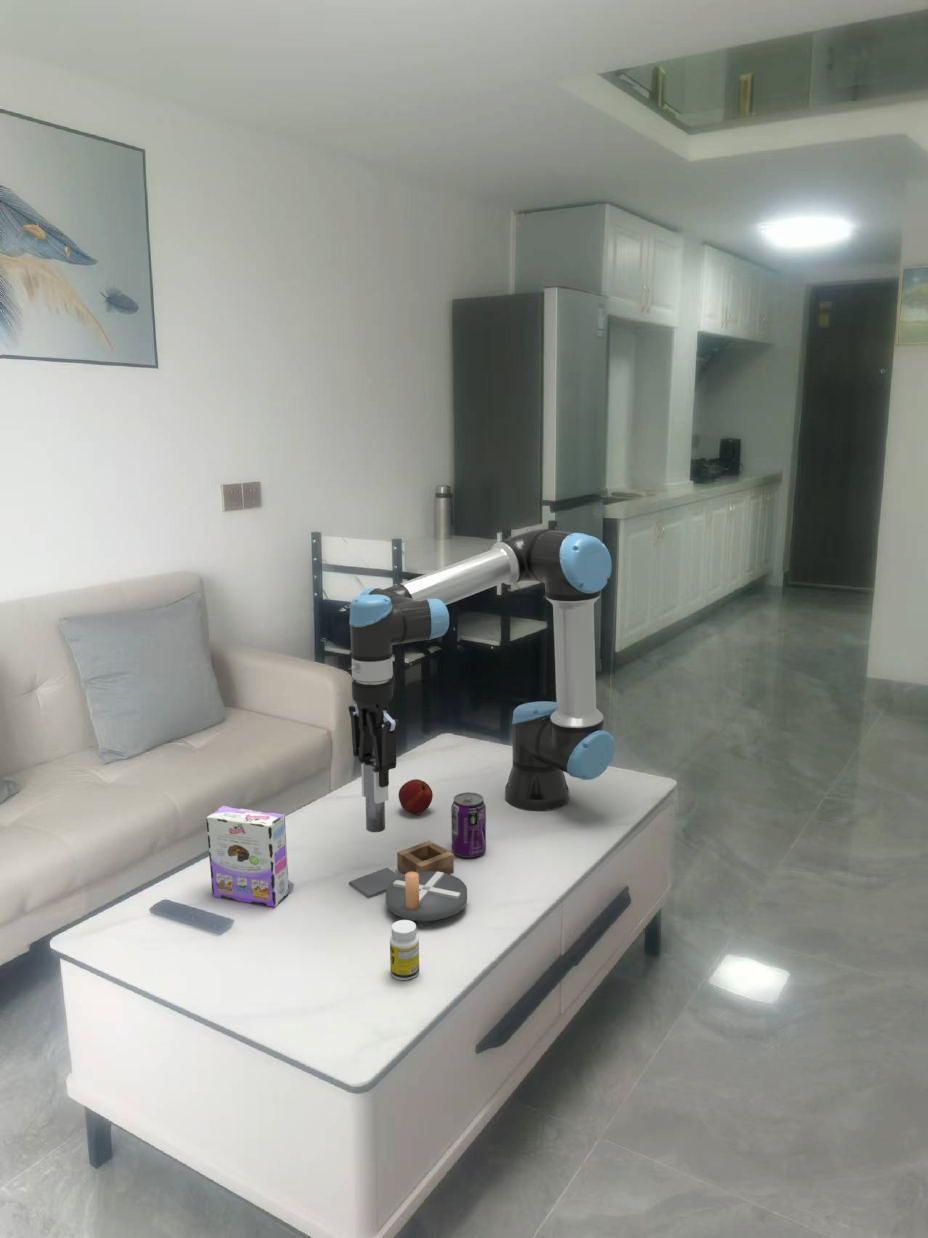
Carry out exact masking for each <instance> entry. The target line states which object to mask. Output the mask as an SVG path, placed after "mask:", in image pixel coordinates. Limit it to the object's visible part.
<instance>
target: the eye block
mask: <svg viewBox="0 0 928 1238" xmlns="http://www.w3.org/2000/svg"><path fill="white" fill-rule="evenodd" d="M454 854H455V853H453V852H450V851H448V850H447V849H446V848H443V847H442V846H439V845H438V844H436V843H434V842H433V841H432V840H426V841H424V842H423V841H422V842H421V843H419V844H415V845H413V846H410V847H407V848H404V849H402V850H399V851H397V852H396V859H397V860H396V861H397V864H396V865H397V871H398V872H399V873H401V875H405V874H406V873H408V872H423V871H434V872H437V871H438V872H443V873H447V874H450V875H452V874H454V872H455V869H454V868H455V867H454V866H455V864H454V861H455V859H454V858H455V857H454Z"/></svg>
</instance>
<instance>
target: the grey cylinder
mask: <svg viewBox="0 0 928 1238" xmlns="http://www.w3.org/2000/svg"><path fill="white" fill-rule="evenodd" d="M375 768H376V761H375V760H373V761H372V760H370V761H369V762H366V763H365V797H364V798H365V826H366V828H365V829H366V831H368V832H370V833H381V832H383V831H385V830H386V806H385V803H386V801H384V802H381V803H378V804H376V803H374V771H373V769H375Z"/></svg>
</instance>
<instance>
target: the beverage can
mask: <svg viewBox="0 0 928 1238" xmlns="http://www.w3.org/2000/svg"><path fill="white" fill-rule="evenodd" d="M486 811H487V807H486V804H485V801H484V797H483V795H482V794H479V793H476V792H470V791H469V792H461V793H458V794H455V796H453V802H452V804H451V816H450V817H451V851H452V853H453V854H455V855H457V856H460V857H462V858H468V859H469V858H475V857H478V856H481V855H483V854H484V853H485V852H486V850H487V827H486V825H487V824H486V822H487V821H486V819H487V816H486V815H487V813H486Z"/></svg>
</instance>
